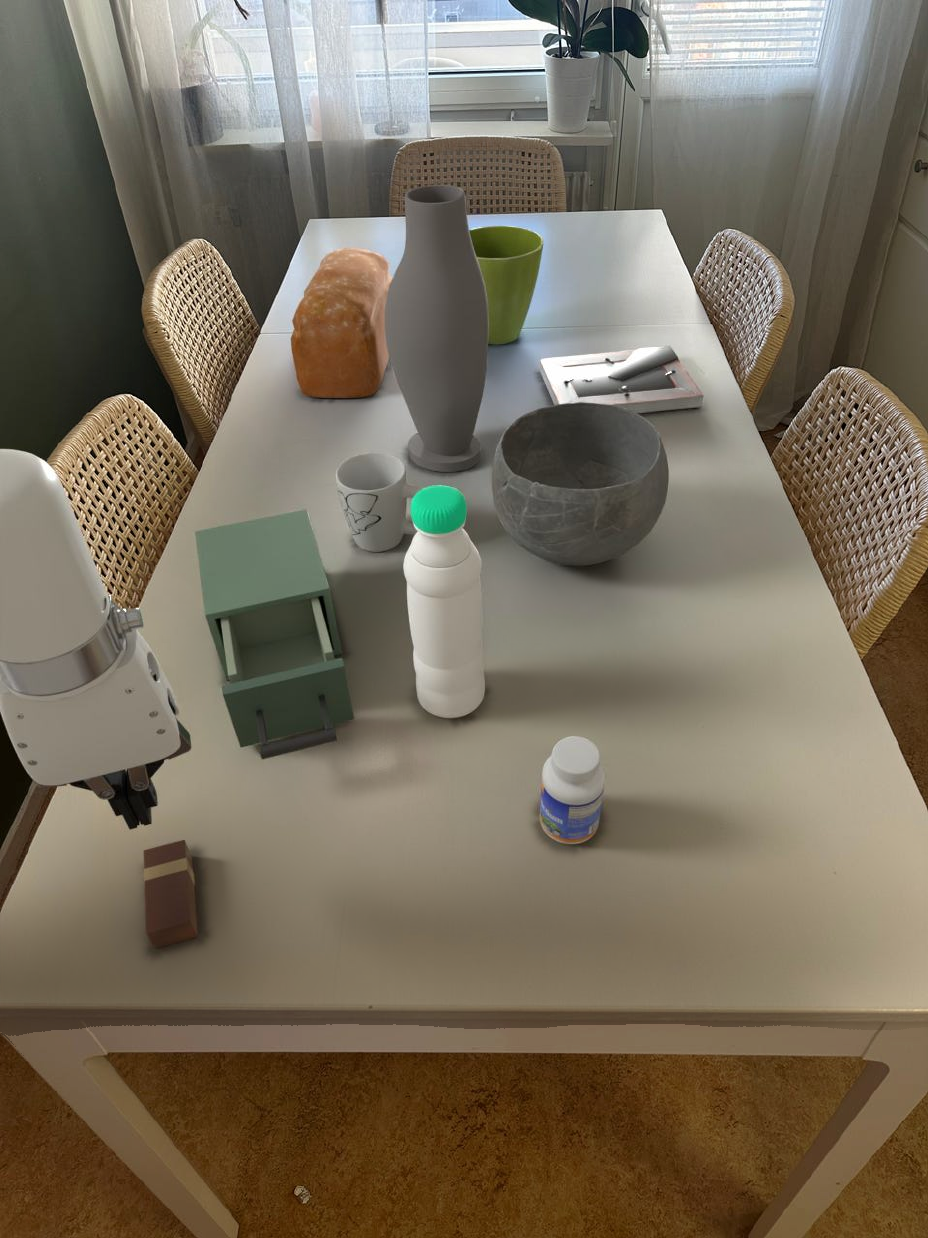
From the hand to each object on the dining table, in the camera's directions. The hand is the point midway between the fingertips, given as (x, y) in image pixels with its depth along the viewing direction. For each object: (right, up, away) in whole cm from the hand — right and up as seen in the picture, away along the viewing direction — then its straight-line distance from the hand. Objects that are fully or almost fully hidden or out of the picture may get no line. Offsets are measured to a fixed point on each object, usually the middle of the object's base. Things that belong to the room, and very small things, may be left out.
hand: (140, 811), depth 67 cm
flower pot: (+31, +64, +85) cm, 111 cm away
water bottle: (+24, +7, +24) cm, 34 cm away
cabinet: (+3, +14, +33) cm, 36 cm away
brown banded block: (0, -9, +8) cm, 12 cm away
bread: (+6, +58, +80) cm, 99 cm away
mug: (+16, +25, +44) cm, 52 cm away
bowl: (+39, +24, +42) cm, 62 cm away
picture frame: (+49, +51, +69) cm, 99 cm away
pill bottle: (+34, -4, +12) cm, 37 cm away
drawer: (+7, +6, +22) cm, 24 cm away
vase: (+22, +38, +58) cm, 73 cm away
